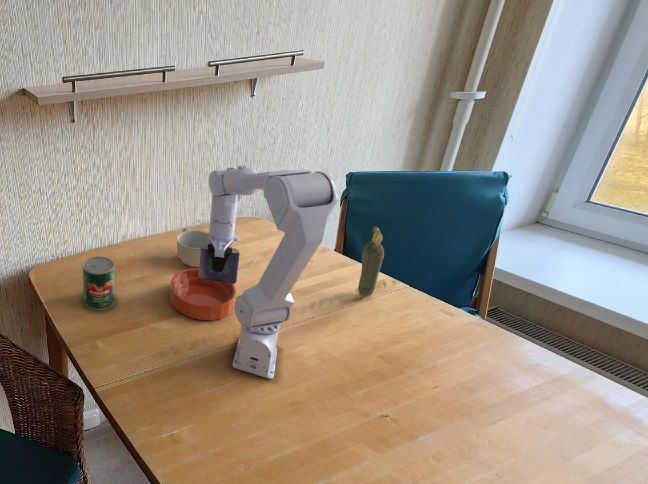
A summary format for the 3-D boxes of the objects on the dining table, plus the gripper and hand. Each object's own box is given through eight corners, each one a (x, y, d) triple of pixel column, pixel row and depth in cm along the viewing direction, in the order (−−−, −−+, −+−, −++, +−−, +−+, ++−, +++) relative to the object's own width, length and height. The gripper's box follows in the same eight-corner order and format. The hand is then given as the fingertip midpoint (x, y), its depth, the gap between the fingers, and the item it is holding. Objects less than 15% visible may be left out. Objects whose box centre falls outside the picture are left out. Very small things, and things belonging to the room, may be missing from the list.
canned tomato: (103, 288, 116) (102, 253, 112) (120, 303, 109) (120, 266, 105) (78, 298, 112) (76, 262, 108) (94, 314, 105) (93, 277, 101)
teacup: (216, 271, 122) (218, 247, 119) (178, 271, 122) (180, 247, 119) (205, 246, 135) (207, 224, 132) (171, 247, 135) (172, 224, 132)
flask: (197, 279, 106) (200, 241, 103) (198, 273, 109) (201, 236, 105) (236, 285, 104) (241, 247, 100) (236, 278, 106) (240, 241, 103)
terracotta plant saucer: (227, 329, 100) (229, 313, 98) (161, 310, 106) (162, 295, 105) (238, 291, 113) (240, 277, 111) (179, 277, 120) (180, 263, 118)
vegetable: (374, 304, 107) (393, 234, 99) (355, 302, 107) (372, 232, 100) (368, 294, 111) (385, 225, 103) (349, 292, 111) (365, 224, 104)
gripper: (240, 234, 93) (234, 287, 98) (240, 207, 105) (235, 254, 110) (207, 230, 95) (203, 282, 100) (211, 204, 107) (207, 251, 112)
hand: (218, 267), depth 105 cm, fingers closed on flask, 3 cm apart
